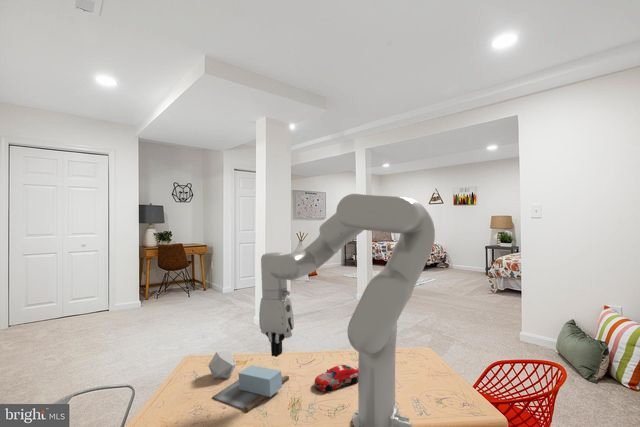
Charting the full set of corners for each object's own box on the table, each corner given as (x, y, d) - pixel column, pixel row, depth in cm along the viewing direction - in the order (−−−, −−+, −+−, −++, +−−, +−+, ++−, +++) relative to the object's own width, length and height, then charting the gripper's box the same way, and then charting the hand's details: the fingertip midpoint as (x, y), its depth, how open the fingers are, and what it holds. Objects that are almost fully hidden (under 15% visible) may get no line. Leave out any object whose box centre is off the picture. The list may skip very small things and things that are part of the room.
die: (220, 387, 103) (238, 359, 106) (199, 372, 104) (217, 345, 107) (227, 384, 111) (243, 358, 114) (207, 369, 112) (224, 344, 115)
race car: (320, 395, 98) (320, 379, 98) (310, 385, 104) (310, 370, 104) (364, 382, 106) (363, 367, 106) (352, 373, 111) (352, 359, 111)
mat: (288, 379, 107) (288, 376, 107) (248, 412, 89) (248, 408, 89) (256, 369, 114) (256, 366, 114) (212, 398, 96) (212, 394, 96)
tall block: (281, 370, 100) (251, 365, 106) (269, 379, 95) (238, 373, 100) (282, 387, 100) (252, 380, 105) (270, 396, 94) (239, 389, 100)
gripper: (302, 293, 97) (304, 354, 97) (263, 289, 104) (265, 346, 104) (288, 298, 90) (290, 364, 90) (247, 294, 98) (249, 355, 97)
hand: (276, 354), depth 97 cm, fingers closed
